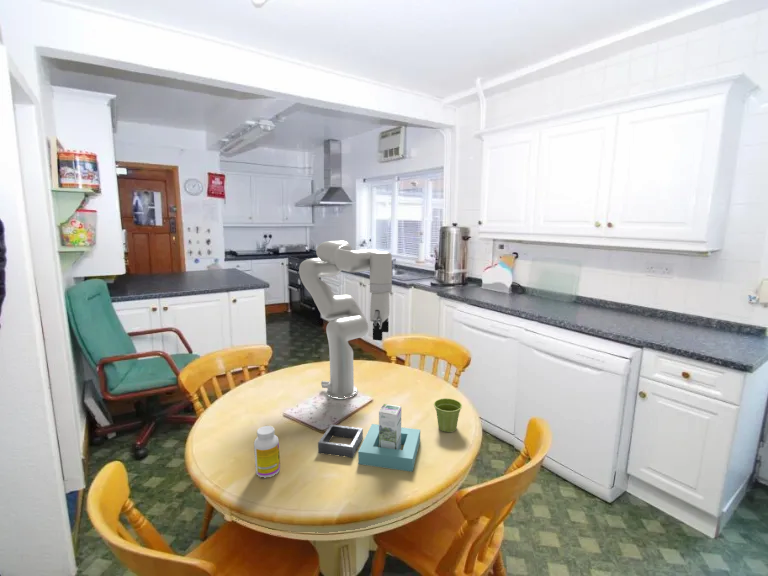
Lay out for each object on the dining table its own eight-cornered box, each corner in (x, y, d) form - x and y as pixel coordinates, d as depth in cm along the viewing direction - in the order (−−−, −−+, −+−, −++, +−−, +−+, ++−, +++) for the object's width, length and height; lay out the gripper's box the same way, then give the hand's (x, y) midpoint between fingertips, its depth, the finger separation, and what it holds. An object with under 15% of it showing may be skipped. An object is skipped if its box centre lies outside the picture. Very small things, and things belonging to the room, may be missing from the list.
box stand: (318, 453, 120) (318, 442, 120) (331, 434, 131) (330, 424, 130) (352, 457, 118) (352, 447, 117) (362, 438, 128) (362, 428, 128)
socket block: (358, 464, 115) (358, 451, 114) (372, 435, 130) (372, 423, 130) (412, 471, 111) (412, 458, 111) (420, 441, 127) (420, 429, 126)
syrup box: (401, 448, 123) (402, 405, 120) (396, 459, 117) (396, 414, 115) (384, 445, 124) (384, 402, 122) (378, 455, 119) (378, 411, 116)
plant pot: (444, 438, 128) (444, 413, 127) (428, 425, 137) (428, 401, 135) (466, 431, 133) (467, 407, 131) (449, 418, 141) (450, 396, 139)
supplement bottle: (283, 473, 111) (281, 431, 108) (259, 482, 107) (257, 439, 105) (276, 461, 116) (273, 421, 114) (253, 469, 113) (250, 428, 110)
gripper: (376, 283, 144) (376, 328, 147) (363, 291, 127) (363, 342, 130) (396, 284, 142) (396, 329, 145) (385, 292, 125) (385, 344, 128)
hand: (380, 335), depth 137 cm, fingers open, 9 cm apart
